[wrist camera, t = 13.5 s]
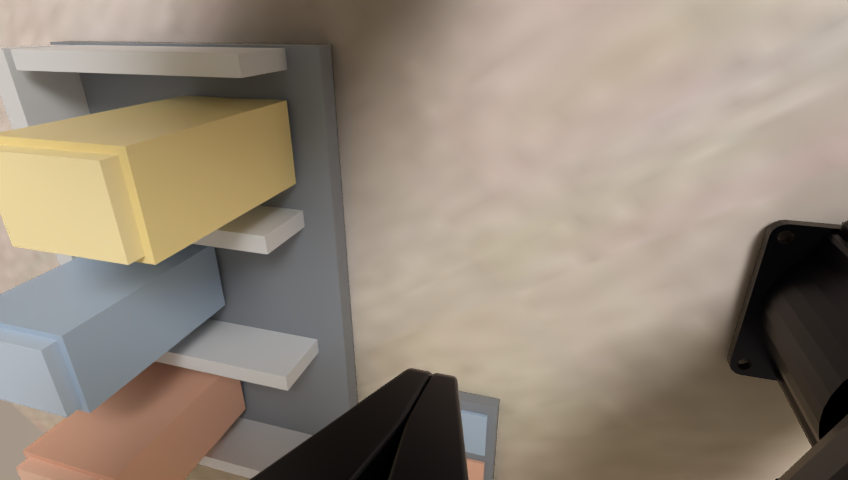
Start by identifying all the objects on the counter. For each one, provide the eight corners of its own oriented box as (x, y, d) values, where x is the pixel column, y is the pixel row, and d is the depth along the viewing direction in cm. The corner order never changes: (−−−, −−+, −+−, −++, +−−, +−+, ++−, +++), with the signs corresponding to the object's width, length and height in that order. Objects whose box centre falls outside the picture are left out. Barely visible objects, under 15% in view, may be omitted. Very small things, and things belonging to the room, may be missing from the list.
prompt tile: (492, 497, 27) (489, 509, 27) (431, 482, 28) (427, 493, 28) (499, 399, 25) (497, 409, 24) (431, 385, 25) (427, 395, 25)
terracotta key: (245, 408, 29) (123, 549, 21) (174, 391, 30) (35, 518, 22) (235, 359, 27) (101, 491, 20) (161, 343, 28) (8, 461, 21)
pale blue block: (225, 304, 26) (75, 424, 18) (147, 290, 27) (-23, 397, 19) (213, 243, 24) (45, 345, 17) (131, 232, 26) (-59, 322, 18)
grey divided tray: (361, 443, 29) (329, 502, 25) (168, 396, 32) (118, 442, 29) (331, 44, 20) (276, 50, 16) (70, 41, 23) (-20, 45, 20)
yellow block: (296, 183, 21) (139, 274, 14) (199, 174, 23) (8, 252, 15) (286, 100, 20) (106, 151, 12) (183, 95, 21) (-36, 139, 14)
